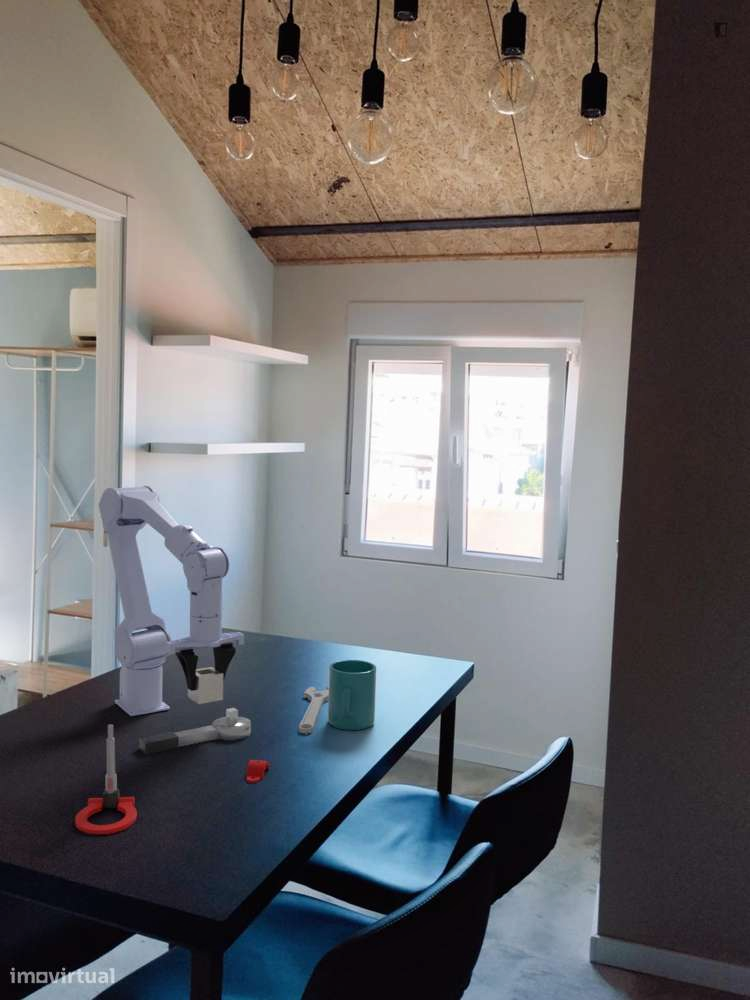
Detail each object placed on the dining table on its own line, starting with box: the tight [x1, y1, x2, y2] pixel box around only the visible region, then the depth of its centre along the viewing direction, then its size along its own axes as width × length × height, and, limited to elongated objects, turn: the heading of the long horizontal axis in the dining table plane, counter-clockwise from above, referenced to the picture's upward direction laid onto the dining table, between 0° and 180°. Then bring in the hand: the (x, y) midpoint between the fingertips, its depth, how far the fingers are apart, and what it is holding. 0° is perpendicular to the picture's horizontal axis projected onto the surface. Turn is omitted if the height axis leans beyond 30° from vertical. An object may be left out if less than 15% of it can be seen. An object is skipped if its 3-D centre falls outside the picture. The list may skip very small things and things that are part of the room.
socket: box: [187, 666, 224, 705], centre depth 156 cm, size 5×5×5 cm
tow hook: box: [74, 723, 138, 835], centre depth 122 cm, size 8×13×9 cm
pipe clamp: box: [245, 759, 271, 784], centre depth 140 cm, size 8×3×2 cm, turn 172°
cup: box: [327, 659, 377, 731], centre depth 162 cm, size 9×12×11 cm
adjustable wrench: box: [298, 685, 329, 735], centre depth 170 cm, size 25×6×2 cm, turn 171°
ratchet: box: [138, 707, 252, 755], centre depth 153 cm, size 7×20×4 cm, turn 126°
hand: (205, 686), depth 156 cm, fingers closed on socket, 5 cm apart
